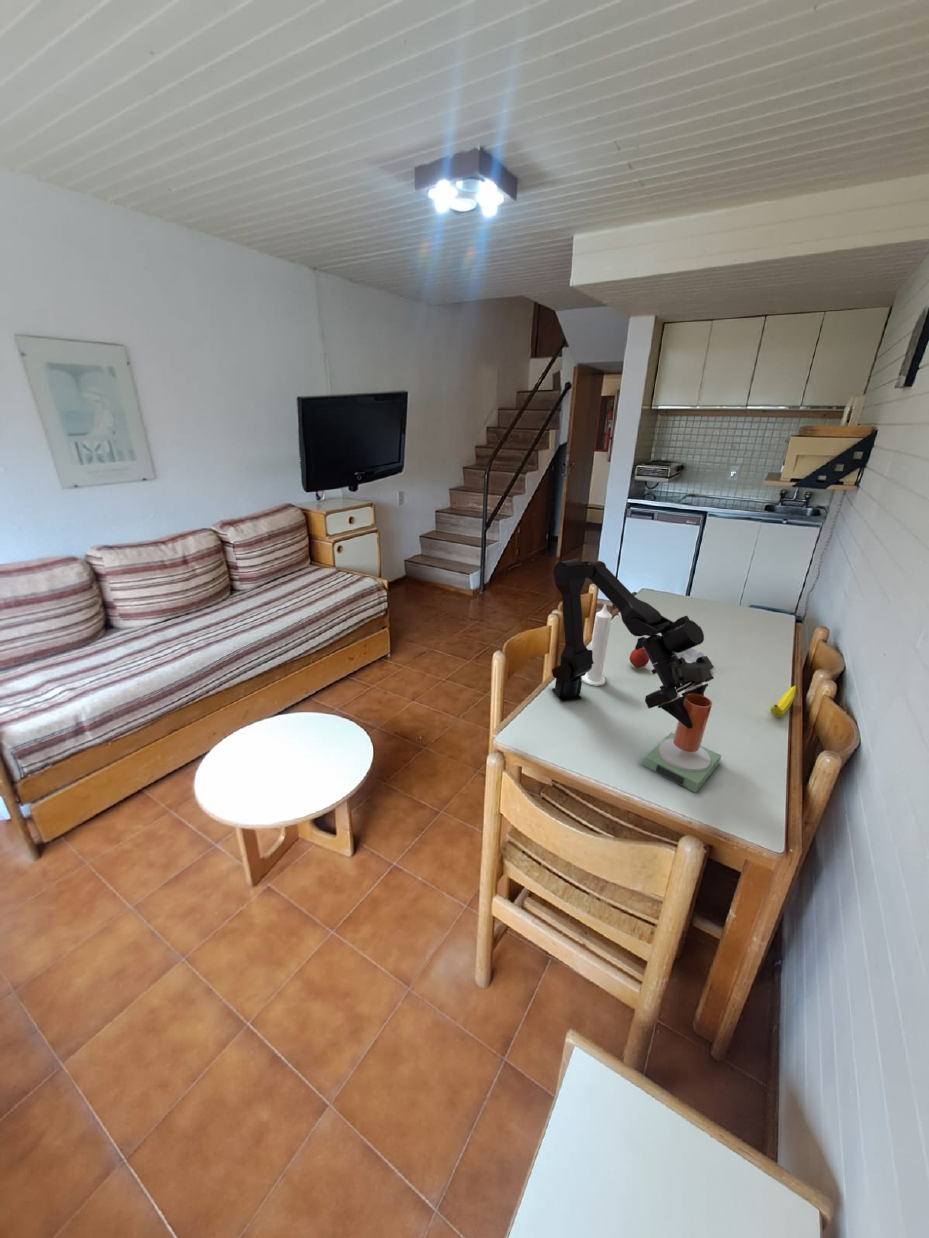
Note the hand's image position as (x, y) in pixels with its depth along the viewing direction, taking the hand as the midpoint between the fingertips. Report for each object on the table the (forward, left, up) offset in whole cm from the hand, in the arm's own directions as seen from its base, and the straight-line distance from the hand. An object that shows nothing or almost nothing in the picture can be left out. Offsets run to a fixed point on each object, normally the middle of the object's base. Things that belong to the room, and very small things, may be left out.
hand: (698, 723), depth 109 cm
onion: (+17, +45, -12) cm, 50 cm away
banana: (+42, +14, -12) cm, 46 cm away
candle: (-1, +41, -12) cm, 43 cm away
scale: (0, +1, -12) cm, 12 cm away
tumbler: (0, +1, -7) cm, 7 cm away
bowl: (+32, +43, -12) cm, 55 cm away
